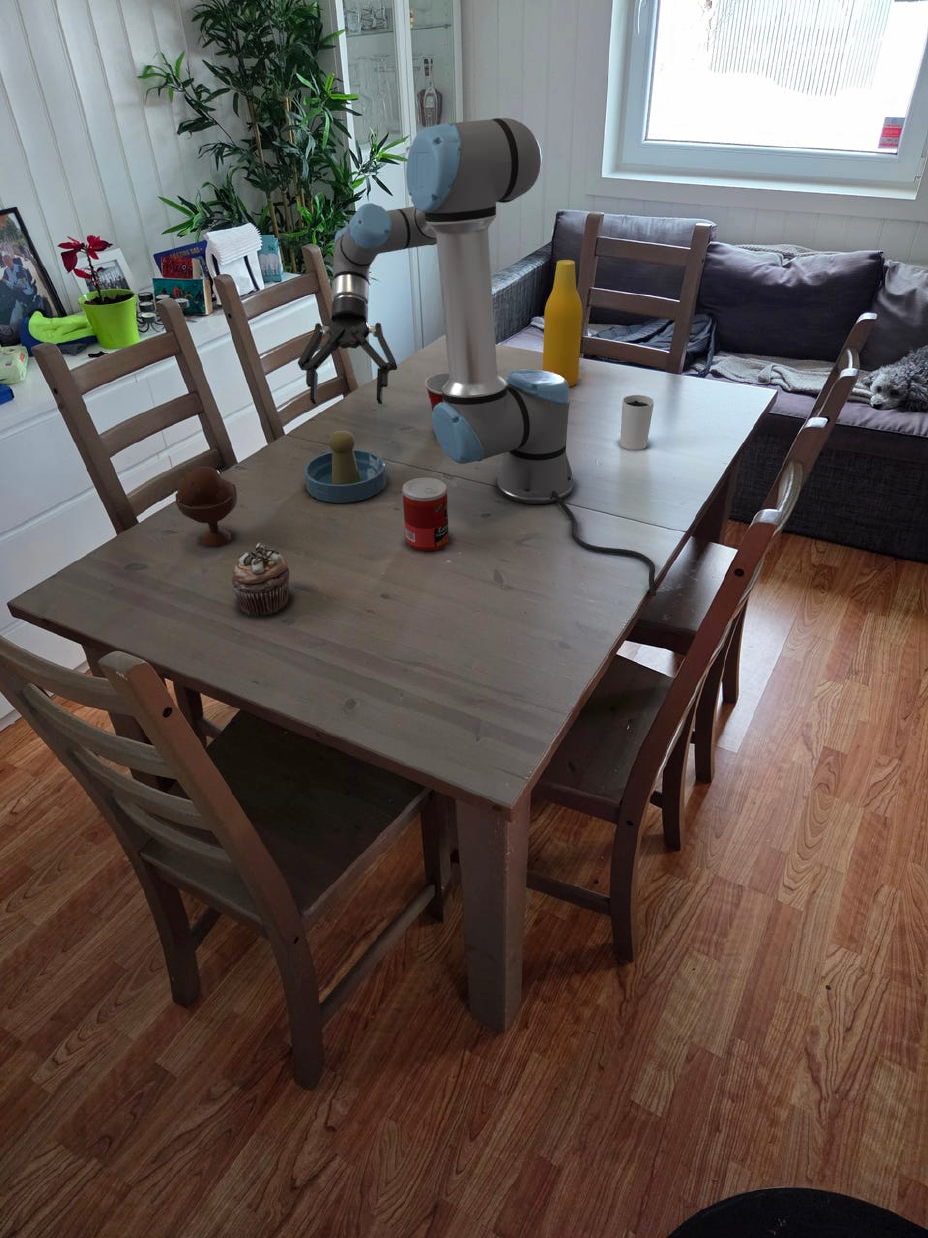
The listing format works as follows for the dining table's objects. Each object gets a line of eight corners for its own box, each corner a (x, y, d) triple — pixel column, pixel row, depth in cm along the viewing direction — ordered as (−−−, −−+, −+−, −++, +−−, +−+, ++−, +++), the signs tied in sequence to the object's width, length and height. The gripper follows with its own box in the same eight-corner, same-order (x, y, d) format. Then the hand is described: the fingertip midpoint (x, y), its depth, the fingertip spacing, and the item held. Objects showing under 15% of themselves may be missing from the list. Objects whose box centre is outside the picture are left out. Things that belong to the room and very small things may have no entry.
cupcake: (261, 579, 145) (251, 529, 138) (305, 595, 141) (297, 544, 134) (222, 608, 138) (210, 557, 132) (267, 625, 134) (257, 573, 128)
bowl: (398, 491, 169) (397, 473, 167) (322, 511, 163) (320, 493, 161) (368, 460, 180) (366, 443, 178) (296, 477, 175) (293, 460, 172)
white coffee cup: (611, 443, 185) (615, 399, 179) (633, 435, 188) (637, 392, 182) (633, 453, 180) (638, 409, 174) (655, 445, 183) (660, 401, 177)
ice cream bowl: (256, 528, 158) (242, 455, 149) (225, 558, 150) (207, 484, 141) (208, 520, 161) (191, 448, 152) (174, 549, 153) (154, 475, 144)
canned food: (444, 553, 150) (441, 499, 143) (401, 549, 151) (396, 495, 145) (453, 531, 156) (451, 478, 149) (411, 528, 157) (408, 475, 151)
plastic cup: (446, 446, 185) (444, 394, 178) (417, 431, 192) (414, 380, 185) (483, 432, 190) (483, 381, 183) (454, 418, 197) (453, 368, 190)
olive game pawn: (332, 477, 174) (326, 427, 167) (361, 475, 174) (356, 426, 168) (331, 491, 169) (324, 440, 162) (361, 489, 169) (355, 439, 163)
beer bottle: (539, 387, 211) (543, 266, 194) (544, 373, 218) (549, 256, 201) (575, 389, 210) (583, 267, 192) (580, 376, 217) (587, 257, 199)
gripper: (411, 312, 177) (409, 408, 174) (295, 313, 178) (290, 408, 175) (407, 293, 169) (404, 393, 167) (286, 294, 171) (281, 394, 168)
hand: (346, 401), depth 171 cm, fingers open, 13 cm apart
